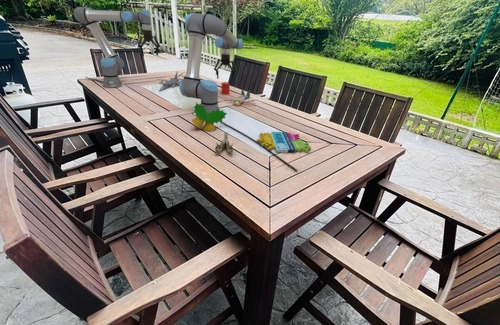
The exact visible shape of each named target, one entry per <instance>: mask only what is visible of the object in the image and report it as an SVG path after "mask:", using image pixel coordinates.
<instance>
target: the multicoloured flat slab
mask: <svg viewBox="0 0 500 325" xmlns="http://www.w3.org/2000/svg"><path fill="white" fill-rule="evenodd" d="M299 136H300V135H299V134H298V133H296V134H294V133H291V132H287V131H270V132H264V133H263V132H260V133H259V139H258V138H257V139H256V141H257V142H258V143H260V144H261V145H262V146H264V147H266V148H267V149H268V150H270V151H272V150H273V149H275V152H276V153H283V154H285V153H287V154H288V153H290V154H293V153H296V152H298V153H301V152H305V153H310V151H311V150H312V149H311V148H312V146H309V142H304V141H303V139H302V138H299ZM262 146H261V147H262ZM268 150H267V151H268Z"/></svg>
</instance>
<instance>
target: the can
mask: <svg viewBox="0 0 500 325" xmlns="http://www.w3.org/2000/svg"><path fill="white" fill-rule="evenodd" d="M230 86H231V85H230V82H227V81H223V82H222V81H221V91H220V92H221V95H223V96H224V95H230Z"/></svg>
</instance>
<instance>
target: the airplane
mask: <svg viewBox="0 0 500 325" xmlns="http://www.w3.org/2000/svg"><path fill="white" fill-rule="evenodd" d="M178 73H179V72H178V70H177V71H176V73H175V75H174V77H169V79H170V80H167V79H159V78H157V79H156V80H157V81H160V83H159V84H162V83H163V85H162V86H160V87H159V90H158V92H159V91H164V90H166V89H167V88H173V87H175V86H177V85H180V82H181V80H182V79H183V78H179V77H178Z"/></svg>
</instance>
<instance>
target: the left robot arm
mask: <svg viewBox="0 0 500 325" xmlns="http://www.w3.org/2000/svg"><path fill="white" fill-rule="evenodd" d="M73 16H74V19H75V20H76V21H78V22H79V23H81V24H83V25H84V26H85V28H87V29H89V31H90V33H91V34H92V36H93V38H94V39H95V41H96V43H97V45H98V46H99V48H100V50H101V51H102V53H103V55H104V57H103V58H101V59H100V65H101V70H102V75H103V81H101V80H99V79H97V78H92V80H94V81H97V82H99V83H101V84H102V86H103V87H104V88H111V89H112V88H120V87H122V86H123V83H122V82H121V80H120V78H119V72H120V71H122V70H123V69H124V67H125V61H124V60H123V59H122V58H121V57H120V56H119V54H118V53H116V52H115V51H114V49H113V47H112V45H111V44H110V42H109V41H108V39H107V37H106V35H105V33H104V31H103V30H102V28H101V26H100V22H123V23H125V22H126V23H133V22H134V23H135V22H136V23H137V22H138V23H141V29H142V35H139V39H138V43H137V48H139V51H140V54H141V56H142V57H144V56H145V55H144V54H145V53H144V48H143V47H144V45H145V44H146V42H147V43H148V42H151V43H152V44H153V46H154V47H155V56H159V51H160V49H159V48H161V45H160V43H159V41H158V39H157V36H156V35H153V31H152V21H151V12H150V11H149V9H139V11H130V10H101V9H100V10H98V9H93V8H91V7H89V6H77V7H75V8H74V10H73ZM85 79H88V80H91V78H90V77H87V76H85Z"/></svg>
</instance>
